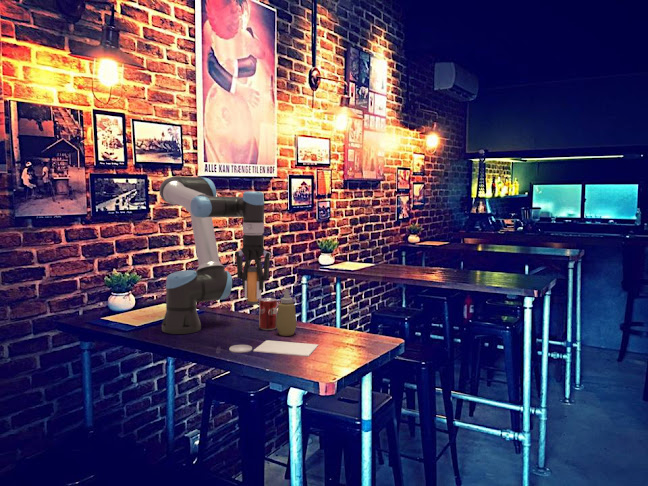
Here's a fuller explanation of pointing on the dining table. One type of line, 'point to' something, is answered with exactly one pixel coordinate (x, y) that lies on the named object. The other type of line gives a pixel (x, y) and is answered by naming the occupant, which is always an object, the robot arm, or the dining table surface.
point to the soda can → (267, 313)
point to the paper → (286, 348)
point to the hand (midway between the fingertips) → (252, 298)
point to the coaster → (240, 348)
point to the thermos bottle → (252, 286)
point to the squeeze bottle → (286, 316)
